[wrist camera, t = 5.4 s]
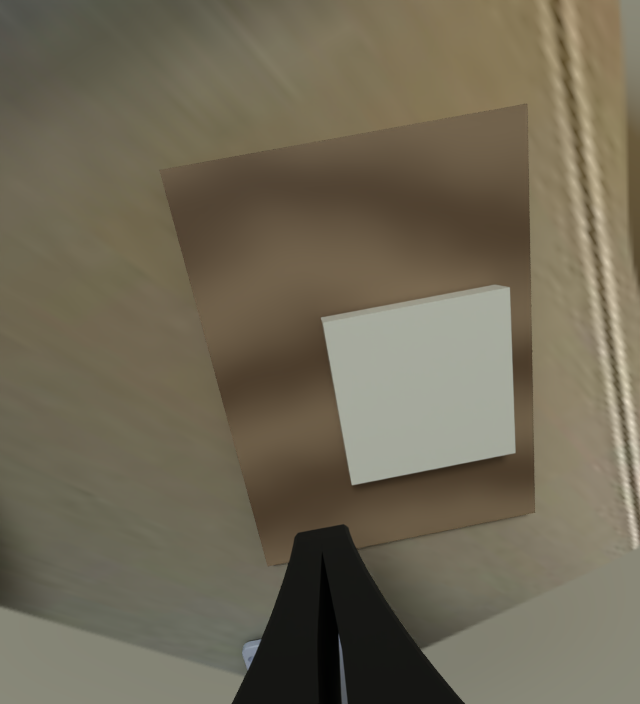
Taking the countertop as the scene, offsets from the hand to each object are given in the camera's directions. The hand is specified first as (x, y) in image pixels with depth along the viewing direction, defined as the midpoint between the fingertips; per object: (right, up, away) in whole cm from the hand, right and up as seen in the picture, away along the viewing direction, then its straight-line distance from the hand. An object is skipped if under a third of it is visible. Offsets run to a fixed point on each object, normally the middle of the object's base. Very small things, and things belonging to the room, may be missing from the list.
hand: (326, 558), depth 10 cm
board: (+3, +5, +9) cm, 10 cm away
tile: (+1, +3, +7) cm, 8 cm away
